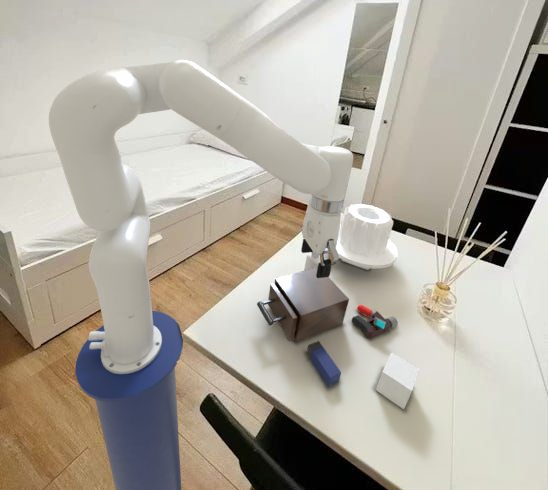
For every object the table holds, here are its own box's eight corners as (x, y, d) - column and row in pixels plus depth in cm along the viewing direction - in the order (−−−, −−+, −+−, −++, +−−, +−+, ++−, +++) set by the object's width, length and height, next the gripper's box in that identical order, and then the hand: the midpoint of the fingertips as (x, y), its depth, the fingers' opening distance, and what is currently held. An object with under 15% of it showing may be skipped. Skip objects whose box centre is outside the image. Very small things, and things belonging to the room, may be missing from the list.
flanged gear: (395, 252, 113) (409, 209, 106) (389, 292, 92) (406, 242, 84) (333, 232, 122) (341, 191, 115) (314, 264, 101) (323, 217, 93)
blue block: (338, 381, 64) (341, 372, 63) (327, 387, 63) (330, 378, 61) (316, 349, 71) (318, 340, 70) (306, 353, 69) (308, 344, 68)
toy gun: (400, 327, 79) (405, 314, 78) (368, 342, 74) (372, 329, 72) (374, 302, 87) (378, 290, 85) (343, 314, 82) (347, 301, 80)
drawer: (271, 347, 69) (274, 325, 66) (251, 309, 79) (253, 288, 76) (333, 323, 77) (338, 302, 74) (308, 292, 87) (311, 272, 84)
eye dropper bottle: (305, 282, 92) (311, 251, 87) (303, 271, 97) (308, 241, 93) (319, 283, 93) (325, 252, 88) (315, 271, 98) (321, 241, 93)
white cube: (384, 369, 68) (391, 352, 65) (411, 387, 64) (419, 369, 62) (375, 389, 63) (382, 371, 61) (403, 409, 60) (412, 391, 58)
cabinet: (296, 342, 72) (301, 315, 68) (271, 303, 83) (275, 278, 79) (342, 324, 78) (349, 298, 75) (314, 290, 89) (318, 266, 86)
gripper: (297, 186, 72) (289, 244, 79) (328, 222, 57) (314, 290, 63) (325, 186, 74) (314, 242, 81) (361, 220, 59) (344, 286, 66)
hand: (314, 263), depth 72 cm, fingers open, 9 cm apart
